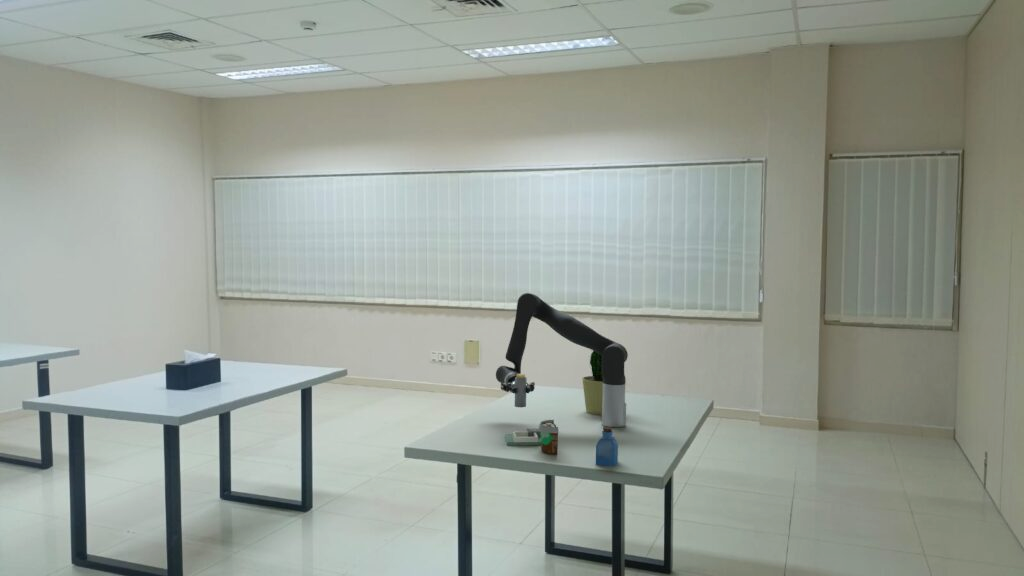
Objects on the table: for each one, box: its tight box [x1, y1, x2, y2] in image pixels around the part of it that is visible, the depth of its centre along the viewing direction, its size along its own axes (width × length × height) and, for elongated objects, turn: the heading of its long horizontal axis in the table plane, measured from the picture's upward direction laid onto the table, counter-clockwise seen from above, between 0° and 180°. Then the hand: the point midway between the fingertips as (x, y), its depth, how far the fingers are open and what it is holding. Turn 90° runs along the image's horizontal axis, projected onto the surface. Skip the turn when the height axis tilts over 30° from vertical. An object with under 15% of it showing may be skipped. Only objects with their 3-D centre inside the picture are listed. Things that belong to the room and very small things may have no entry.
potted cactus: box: [582, 350, 603, 415], centre depth 326 cm, size 15×15×30 cm
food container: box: [538, 419, 559, 456], centre depth 261 cm, size 12×6×10 cm, turn 5°
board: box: [504, 428, 541, 446], centre depth 274 cm, size 14×12×3 cm
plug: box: [514, 373, 528, 408], centre depth 282 cm, size 4×4×12 cm
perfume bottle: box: [595, 426, 619, 467], centre depth 247 cm, size 6×6×12 cm
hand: (521, 390), depth 279 cm, fingers closed on plug, 4 cm apart
